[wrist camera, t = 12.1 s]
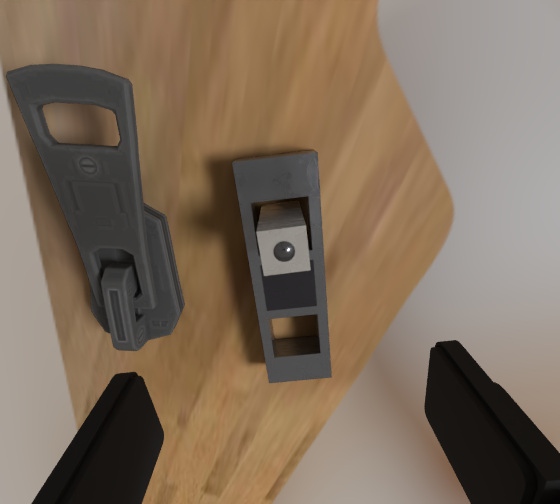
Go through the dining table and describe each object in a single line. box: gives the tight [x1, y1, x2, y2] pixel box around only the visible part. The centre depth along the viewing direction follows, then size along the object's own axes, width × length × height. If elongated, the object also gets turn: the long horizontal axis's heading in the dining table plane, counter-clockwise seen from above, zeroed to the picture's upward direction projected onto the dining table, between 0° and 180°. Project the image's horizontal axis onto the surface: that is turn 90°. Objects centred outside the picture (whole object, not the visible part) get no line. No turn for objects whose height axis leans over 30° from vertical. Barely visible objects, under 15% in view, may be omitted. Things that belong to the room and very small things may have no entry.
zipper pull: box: [6, 64, 185, 351], centre depth 27 cm, size 9×7×25 cm
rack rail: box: [232, 150, 331, 383], centre depth 30 cm, size 24×7×3 cm, turn 6°
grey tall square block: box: [256, 201, 311, 276], centre depth 26 cm, size 4×4×8 cm
